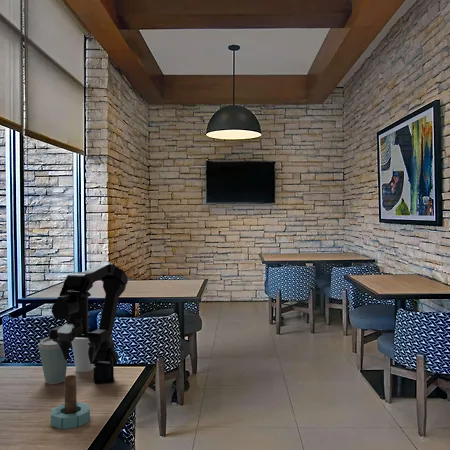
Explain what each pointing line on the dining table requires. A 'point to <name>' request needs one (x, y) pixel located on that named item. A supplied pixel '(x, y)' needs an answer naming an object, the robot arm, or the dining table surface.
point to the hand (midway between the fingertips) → (79, 361)
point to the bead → (70, 416)
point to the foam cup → (81, 354)
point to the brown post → (70, 394)
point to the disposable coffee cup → (52, 361)
